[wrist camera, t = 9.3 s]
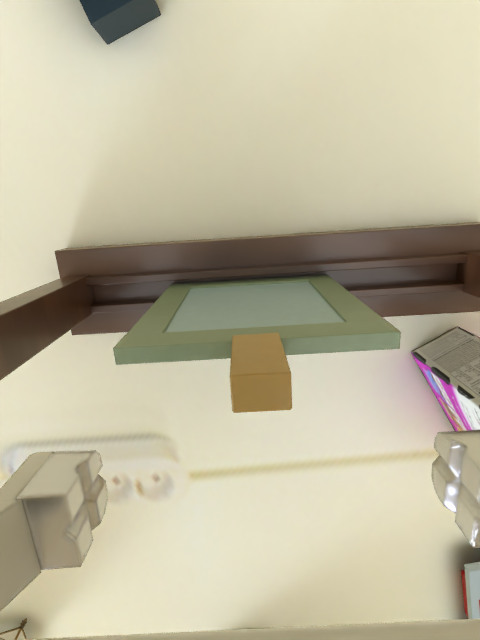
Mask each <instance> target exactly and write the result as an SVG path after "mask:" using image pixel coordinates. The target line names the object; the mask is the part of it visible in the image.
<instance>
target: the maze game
mask: <svg viewBox="0 0 480 640" xmlns="http://www.w3.org/2000/svg"><path fill="white" fill-rule="evenodd" d="M464 567H465V570H462V571H461V574H462V586H463V597H464V609H465V613H466V615H467V617H468V619H480V562H476V563H470V564H464Z"/></svg>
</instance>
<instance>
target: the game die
mask: <svg viewBox="0 0 480 640" xmlns="http://www.w3.org/2000/svg"><path fill="white" fill-rule="evenodd" d="M26 621H27V618H26V619H25V620H23V621H22V623H21V626H20V627H18V628H15V629H12V630H9V631H6V632H3V633H0V640H22V639H27V638H26V636H25V633H24V630H23V627H24V626H25V624H26V623H27V622H26Z"/></svg>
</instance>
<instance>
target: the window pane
mask: <svg viewBox="0 0 480 640" xmlns="http://www.w3.org/2000/svg"><path fill="white" fill-rule="evenodd" d="M400 335H401V332H400V331H399V330H398V329H396V328H395V327H394V326H393V325H391V324H390V323H389V322H387V321H386V320H385V319H383V318H382V317H381V316H379V315H378V314H377V313H376V312H374V311H373V310H372V309H371V308H369V307H368V306H367V305H365V304H364V303H363V302H362V301H360V300H359V299H358V298H356V297H355V296H354V295H353V294H351V293H350V292H349V291H348V290H346V289H345V288H344V287H342V286H341V285H340V284H339V283H337V282H336V281H335V280H334V279H332V278H331V277H330V276H328V275H327V274H323V275H307V276H290V277H274V278H258V279H241V280H225V281H208V282H192V283H176V284H171V285H170V286H169V287H168V288H167V289H166V290H165V291H164V293H163V294H162V295H161V296H160V297H159V298H158V299H157V300H156V302H155V303H154V304H153V305H152V306H151V307H150V308H149V309H148V310H147V312H146V313H145V314H144V315H143V316H142V317H141V318H140V319H139V321H138V322H137V323H136V324H135V325H134V326H133V327H132V328H131V330H130V331H129V332H128V333H127V334H126V335H125V336H124V337H123V338H122V339H121V340H120V341H119V343H118V344H117V345H116V346H115V347H114V348H113V350H114V356H115V362H116V365H121V364H138V363H156V362H173V361H191V360H209V359H226V358H231V366H230V386H231V399H232V411H233V412H234V413H239V412H258V411H276V410H291V408H292V390H291V371H290V368H289V365H288V362H287V358H286V355H296V354H314V353H332V352H349V351H367V350H384V349H399V348H400Z"/></svg>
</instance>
